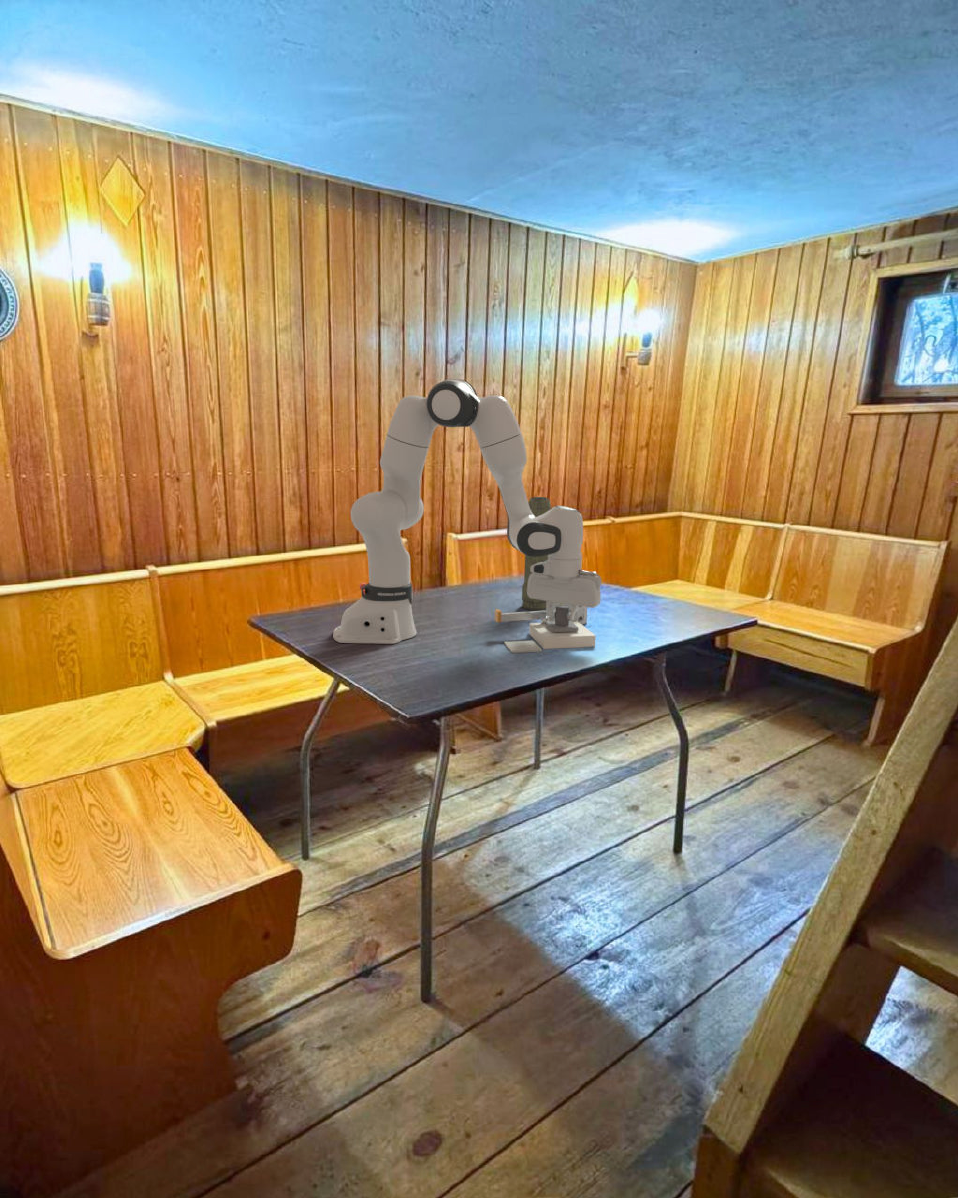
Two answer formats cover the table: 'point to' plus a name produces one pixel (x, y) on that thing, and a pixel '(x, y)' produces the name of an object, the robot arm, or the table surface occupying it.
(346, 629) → the robot arm
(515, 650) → the mat
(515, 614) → the ball-tipped lever rod
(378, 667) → the table surface
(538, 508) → the thermos
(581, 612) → the light bulb box
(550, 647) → the socket
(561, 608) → the plug
